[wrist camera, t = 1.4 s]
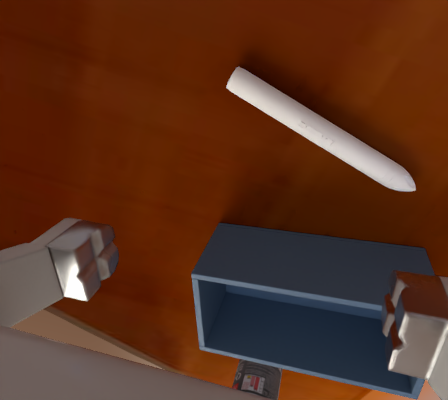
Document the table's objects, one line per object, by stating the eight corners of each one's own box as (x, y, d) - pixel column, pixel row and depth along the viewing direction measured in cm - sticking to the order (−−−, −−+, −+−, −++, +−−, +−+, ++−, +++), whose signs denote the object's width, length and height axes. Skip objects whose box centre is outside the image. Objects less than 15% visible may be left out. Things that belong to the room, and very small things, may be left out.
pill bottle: (239, 340, 46) (217, 415, 37) (281, 346, 44) (268, 425, 35) (244, 368, 48) (225, 444, 40) (284, 375, 46) (273, 455, 38)
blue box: (218, 222, 37) (191, 273, 30) (425, 248, 32) (450, 317, 25) (222, 291, 42) (199, 349, 35) (401, 324, 37) (417, 399, 30)
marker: (422, 175, 29) (429, 188, 27) (404, 193, 30) (409, 206, 28) (241, 63, 28) (234, 68, 27) (230, 86, 30) (222, 91, 28)
